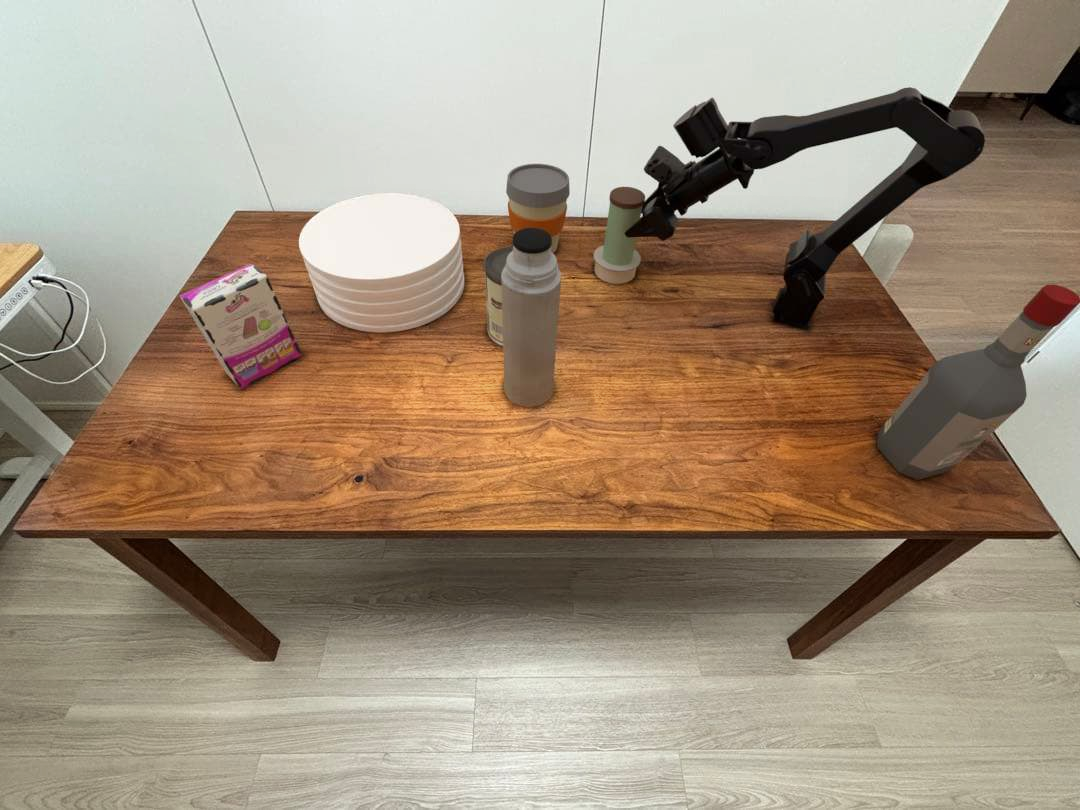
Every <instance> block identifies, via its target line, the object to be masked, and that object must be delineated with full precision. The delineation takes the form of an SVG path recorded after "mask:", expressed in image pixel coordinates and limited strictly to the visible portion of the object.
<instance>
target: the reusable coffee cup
mask: <svg viewBox="0 0 1080 810" xmlns="http://www.w3.org/2000/svg"><path fill="white" fill-rule="evenodd" d="M570 191H571V190H570V177H569V174H568V173H567V172H566V171H565V170H563V169H561V168H560V167H557V166H554V165H550V164H545V163H526V164H522V165H519V166H516V167H514V168H513V169H511V170H510V171H509V172H508V174H507V179H506V189H505V192H506V196H507V197H508V202H507V210H508V218H509V224H510V228H511V230H512V231H513V235H514V234H515V233H516V232H517V231H519V230H521V229H525V228H539V229H542V230H545V231H546V232H548V233H549V234H550V235H551V237H552V245H551V252H552V253H553V254H554V253H555V252H556V251H557V249H558V245H559V240H560V234H561V232H562V231H563V229H564V225H565V222H566V221H565V220H566V215H567V210H568V204H567V201H568V198H569V197H570Z"/></svg>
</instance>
